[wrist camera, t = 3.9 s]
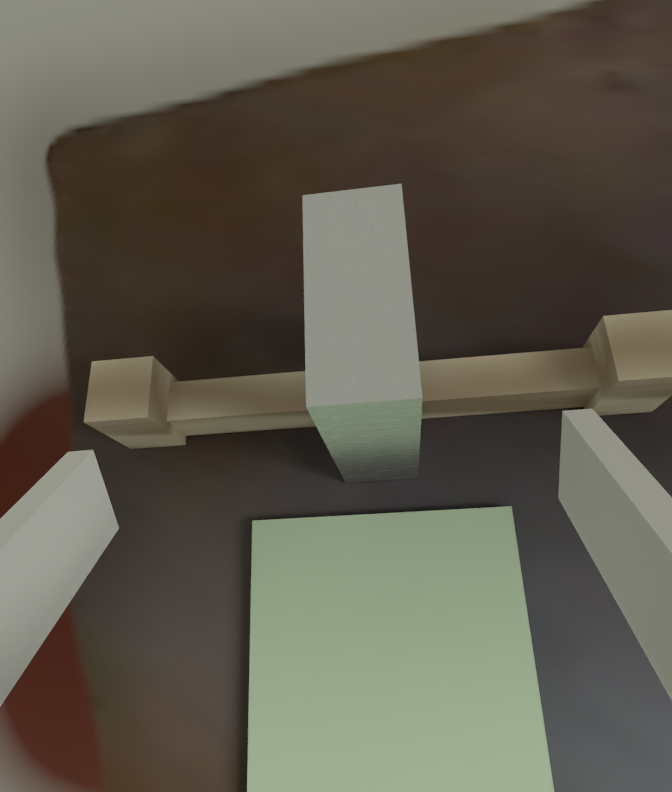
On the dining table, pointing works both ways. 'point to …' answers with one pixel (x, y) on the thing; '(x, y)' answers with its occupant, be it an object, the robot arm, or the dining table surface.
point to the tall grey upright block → (361, 333)
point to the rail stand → (440, 381)
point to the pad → (392, 656)
